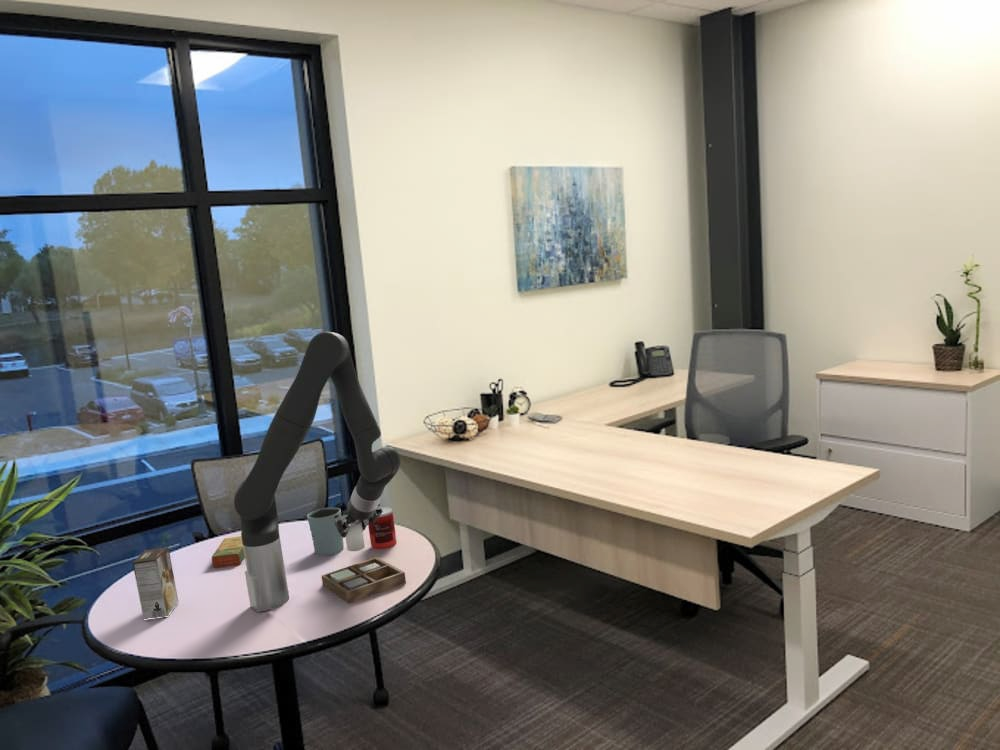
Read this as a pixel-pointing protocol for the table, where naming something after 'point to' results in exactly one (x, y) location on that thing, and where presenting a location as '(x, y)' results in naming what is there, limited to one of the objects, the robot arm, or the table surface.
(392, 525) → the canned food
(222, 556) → the carton
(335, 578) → the note block
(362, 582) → the eraser
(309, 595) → the table surface
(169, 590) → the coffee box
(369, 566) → the grey rectangular block
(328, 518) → the green cup
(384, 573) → the organizer
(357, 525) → the glue stick
